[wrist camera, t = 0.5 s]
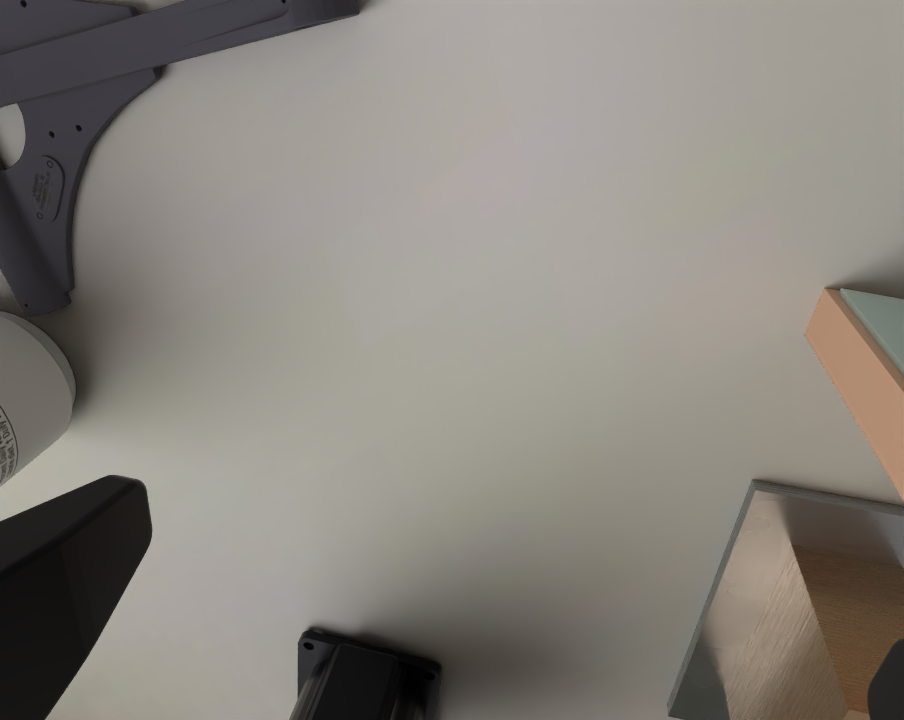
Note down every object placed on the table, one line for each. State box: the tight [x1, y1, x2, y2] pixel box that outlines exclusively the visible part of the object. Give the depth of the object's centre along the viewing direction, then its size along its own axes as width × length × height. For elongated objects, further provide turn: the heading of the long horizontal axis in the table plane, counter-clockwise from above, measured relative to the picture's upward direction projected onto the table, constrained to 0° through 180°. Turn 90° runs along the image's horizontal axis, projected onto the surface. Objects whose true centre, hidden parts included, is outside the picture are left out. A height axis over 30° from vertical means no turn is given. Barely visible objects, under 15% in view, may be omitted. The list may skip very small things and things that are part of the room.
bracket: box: [0, 0, 359, 317], centre depth 19 cm, size 14×15×3 cm
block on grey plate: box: [667, 480, 904, 720], centre depth 22 cm, size 12×7×7 cm, turn 176°
